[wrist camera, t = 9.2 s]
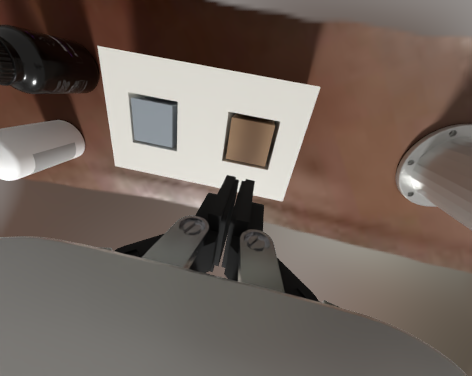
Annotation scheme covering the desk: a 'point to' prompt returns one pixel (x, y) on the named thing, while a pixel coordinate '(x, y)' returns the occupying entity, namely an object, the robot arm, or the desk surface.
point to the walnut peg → (250, 139)
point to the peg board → (204, 119)
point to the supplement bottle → (44, 63)
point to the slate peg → (155, 120)
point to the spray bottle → (37, 147)
